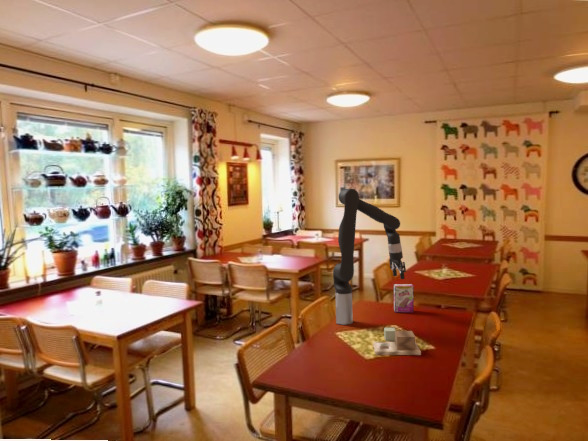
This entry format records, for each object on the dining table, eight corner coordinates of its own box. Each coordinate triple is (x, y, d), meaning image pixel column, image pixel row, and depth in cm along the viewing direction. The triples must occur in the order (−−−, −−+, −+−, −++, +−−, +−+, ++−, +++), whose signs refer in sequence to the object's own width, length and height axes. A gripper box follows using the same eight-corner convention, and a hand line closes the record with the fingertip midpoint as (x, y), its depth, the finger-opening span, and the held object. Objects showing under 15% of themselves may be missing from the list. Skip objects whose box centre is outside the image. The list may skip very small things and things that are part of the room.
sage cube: (385, 340, 203) (385, 330, 203) (384, 337, 208) (384, 327, 208) (395, 340, 203) (395, 330, 202) (394, 337, 208) (394, 327, 207)
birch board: (375, 354, 186) (375, 351, 186) (373, 344, 198) (373, 341, 198) (420, 355, 184) (420, 351, 184) (415, 344, 196) (415, 341, 196)
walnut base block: (397, 349, 187) (397, 336, 187) (394, 343, 195) (394, 330, 195) (415, 349, 186) (415, 336, 186) (412, 343, 194) (412, 330, 194)
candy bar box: (395, 312, 248) (394, 285, 246) (393, 310, 253) (393, 284, 251) (414, 312, 246) (413, 285, 245) (412, 310, 251) (412, 283, 250)
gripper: (383, 250, 247) (387, 276, 249) (395, 253, 233) (399, 281, 235) (395, 247, 249) (398, 273, 251) (407, 251, 235) (411, 278, 237)
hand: (398, 277), depth 243 cm, fingers open, 8 cm apart
